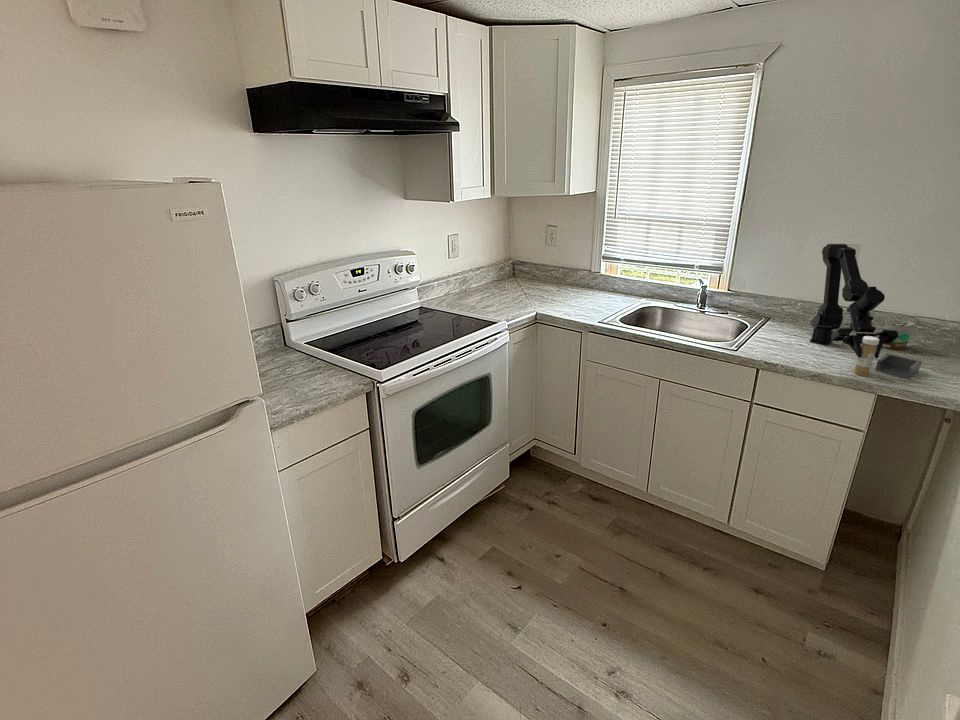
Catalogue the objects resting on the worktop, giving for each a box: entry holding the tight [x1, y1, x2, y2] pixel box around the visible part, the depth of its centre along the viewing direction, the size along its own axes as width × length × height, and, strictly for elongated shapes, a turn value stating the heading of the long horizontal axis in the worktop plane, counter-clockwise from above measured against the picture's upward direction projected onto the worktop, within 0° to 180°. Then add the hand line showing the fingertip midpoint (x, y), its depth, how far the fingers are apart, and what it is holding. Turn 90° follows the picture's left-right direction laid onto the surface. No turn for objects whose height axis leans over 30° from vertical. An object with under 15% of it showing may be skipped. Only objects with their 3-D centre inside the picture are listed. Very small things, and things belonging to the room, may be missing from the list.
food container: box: [881, 320, 916, 351], centre depth 200 cm, size 12×6×10 cm, turn 106°
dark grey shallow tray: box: [874, 353, 923, 380], centre depth 181 cm, size 10×10×4 cm
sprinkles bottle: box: [853, 336, 879, 377], centre depth 178 cm, size 5×5×13 cm
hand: (868, 357), depth 176 cm, fingers open, 5 cm apart
